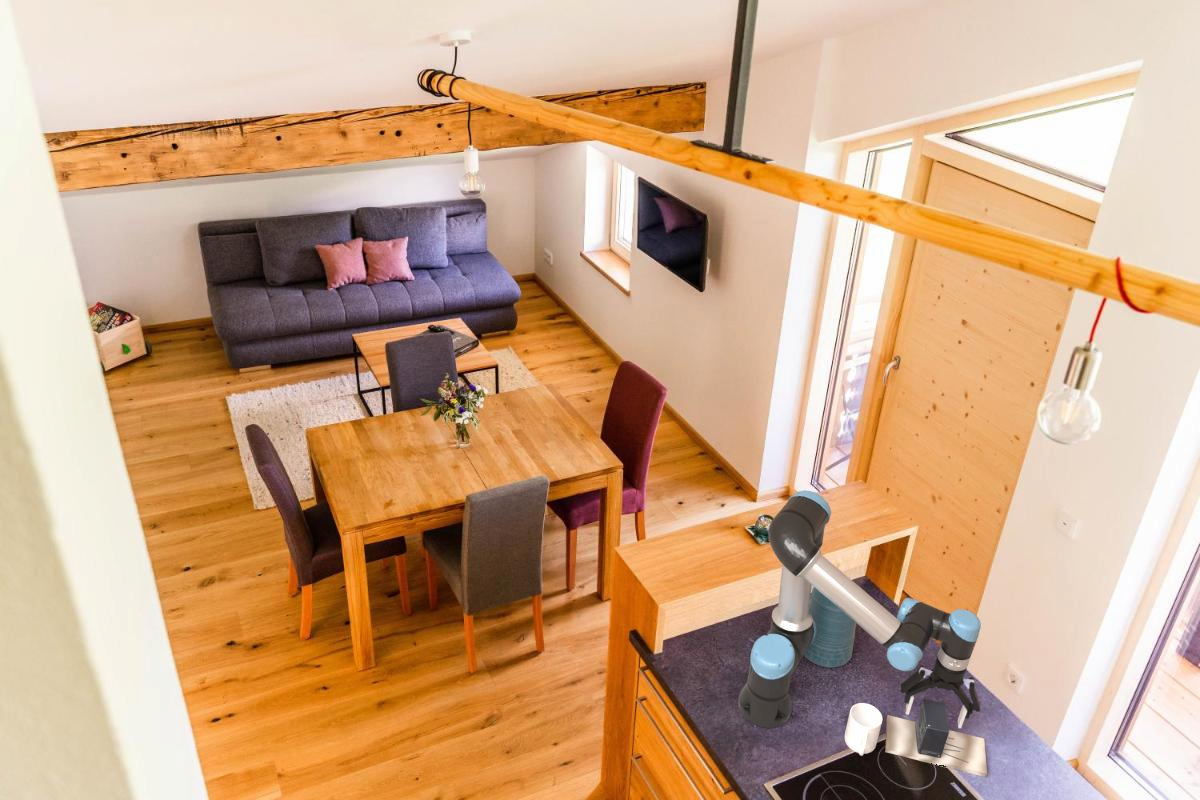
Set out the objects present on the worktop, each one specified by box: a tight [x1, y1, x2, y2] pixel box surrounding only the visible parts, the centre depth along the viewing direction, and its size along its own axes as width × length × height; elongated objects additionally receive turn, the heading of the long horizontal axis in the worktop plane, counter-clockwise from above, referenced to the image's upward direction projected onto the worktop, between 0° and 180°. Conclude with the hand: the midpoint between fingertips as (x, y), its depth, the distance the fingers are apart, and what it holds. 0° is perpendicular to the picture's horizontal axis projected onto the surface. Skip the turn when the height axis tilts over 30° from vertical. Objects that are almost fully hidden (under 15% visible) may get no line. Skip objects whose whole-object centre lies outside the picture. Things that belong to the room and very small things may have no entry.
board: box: [884, 714, 988, 778], centre depth 245 cm, size 26×12×2 cm, turn 73°
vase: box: [803, 586, 857, 668], centre depth 270 cm, size 16×16×27 cm
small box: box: [915, 698, 950, 758], centre depth 243 cm, size 11×6×10 cm, turn 167°
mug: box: [844, 702, 883, 757], centre depth 242 cm, size 9×12×11 cm
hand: (933, 717), depth 241 cm, fingers open, 13 cm apart
